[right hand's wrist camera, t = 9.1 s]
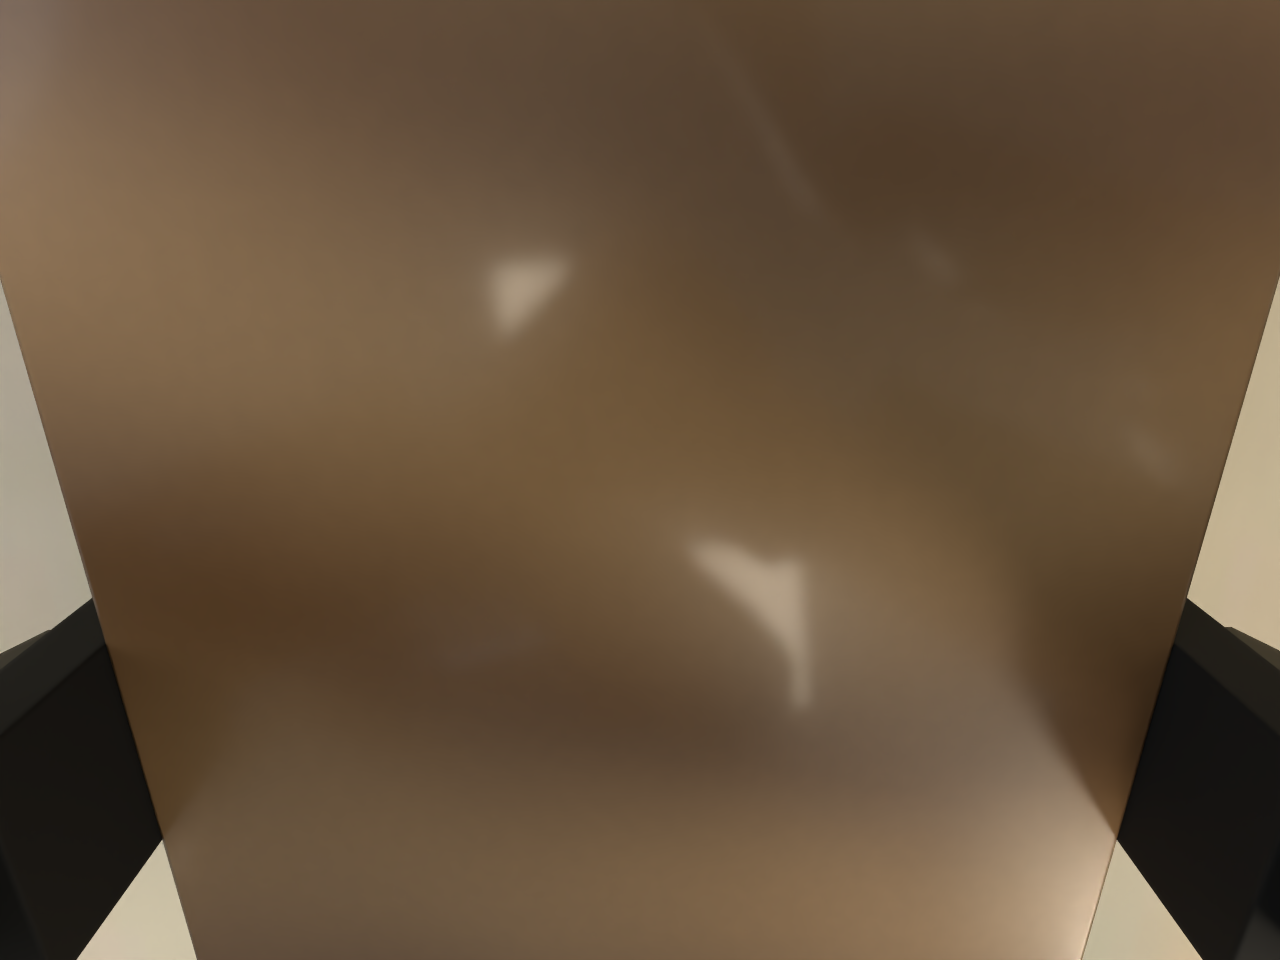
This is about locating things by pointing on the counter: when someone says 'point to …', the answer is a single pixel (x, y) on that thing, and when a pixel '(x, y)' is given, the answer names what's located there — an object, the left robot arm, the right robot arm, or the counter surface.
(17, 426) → the counter surface
